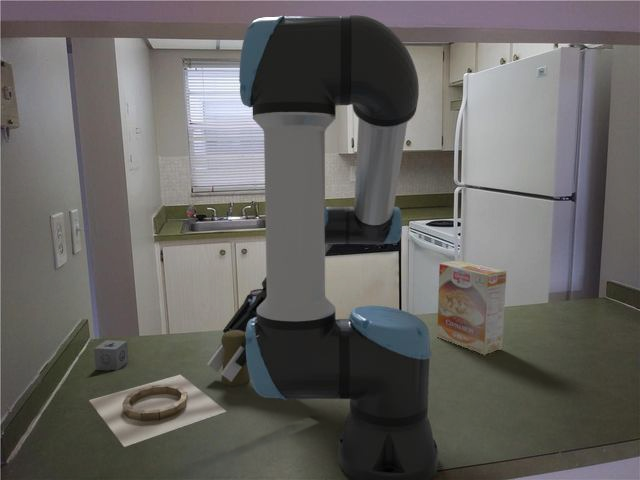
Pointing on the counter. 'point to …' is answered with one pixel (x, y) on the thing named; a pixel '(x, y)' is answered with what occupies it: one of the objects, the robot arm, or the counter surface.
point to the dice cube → (111, 355)
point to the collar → (160, 413)
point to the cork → (231, 345)
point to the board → (142, 430)
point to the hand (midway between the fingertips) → (219, 372)
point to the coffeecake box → (471, 305)
